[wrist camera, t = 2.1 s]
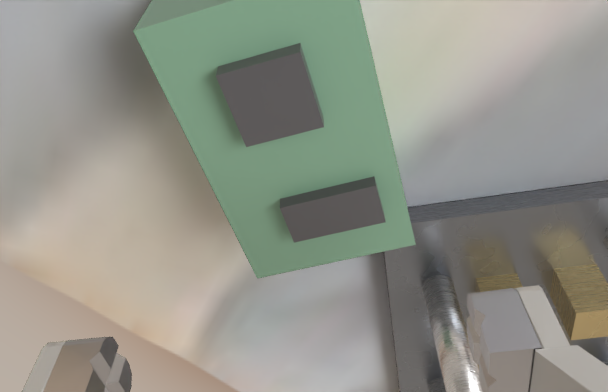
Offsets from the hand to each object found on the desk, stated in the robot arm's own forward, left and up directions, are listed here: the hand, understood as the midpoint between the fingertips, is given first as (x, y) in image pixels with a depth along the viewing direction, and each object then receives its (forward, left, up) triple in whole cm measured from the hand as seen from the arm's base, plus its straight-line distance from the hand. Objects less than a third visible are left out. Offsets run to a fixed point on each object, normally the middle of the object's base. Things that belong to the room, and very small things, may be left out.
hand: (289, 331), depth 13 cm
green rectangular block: (-1, 0, -10) cm, 10 cm away
